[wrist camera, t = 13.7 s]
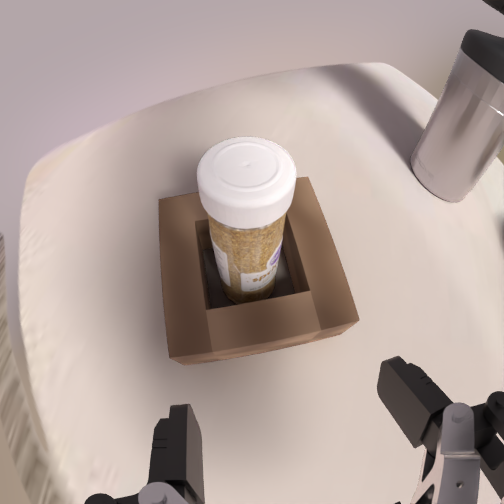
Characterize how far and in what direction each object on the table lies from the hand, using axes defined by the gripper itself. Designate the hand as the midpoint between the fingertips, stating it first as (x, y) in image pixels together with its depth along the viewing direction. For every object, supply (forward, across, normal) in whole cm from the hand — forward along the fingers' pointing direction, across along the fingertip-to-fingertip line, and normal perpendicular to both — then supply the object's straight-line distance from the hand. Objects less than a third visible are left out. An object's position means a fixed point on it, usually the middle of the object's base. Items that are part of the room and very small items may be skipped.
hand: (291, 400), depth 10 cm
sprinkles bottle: (+15, 0, +1) cm, 15 cm away
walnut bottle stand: (+15, 0, 0) cm, 15 cm away
